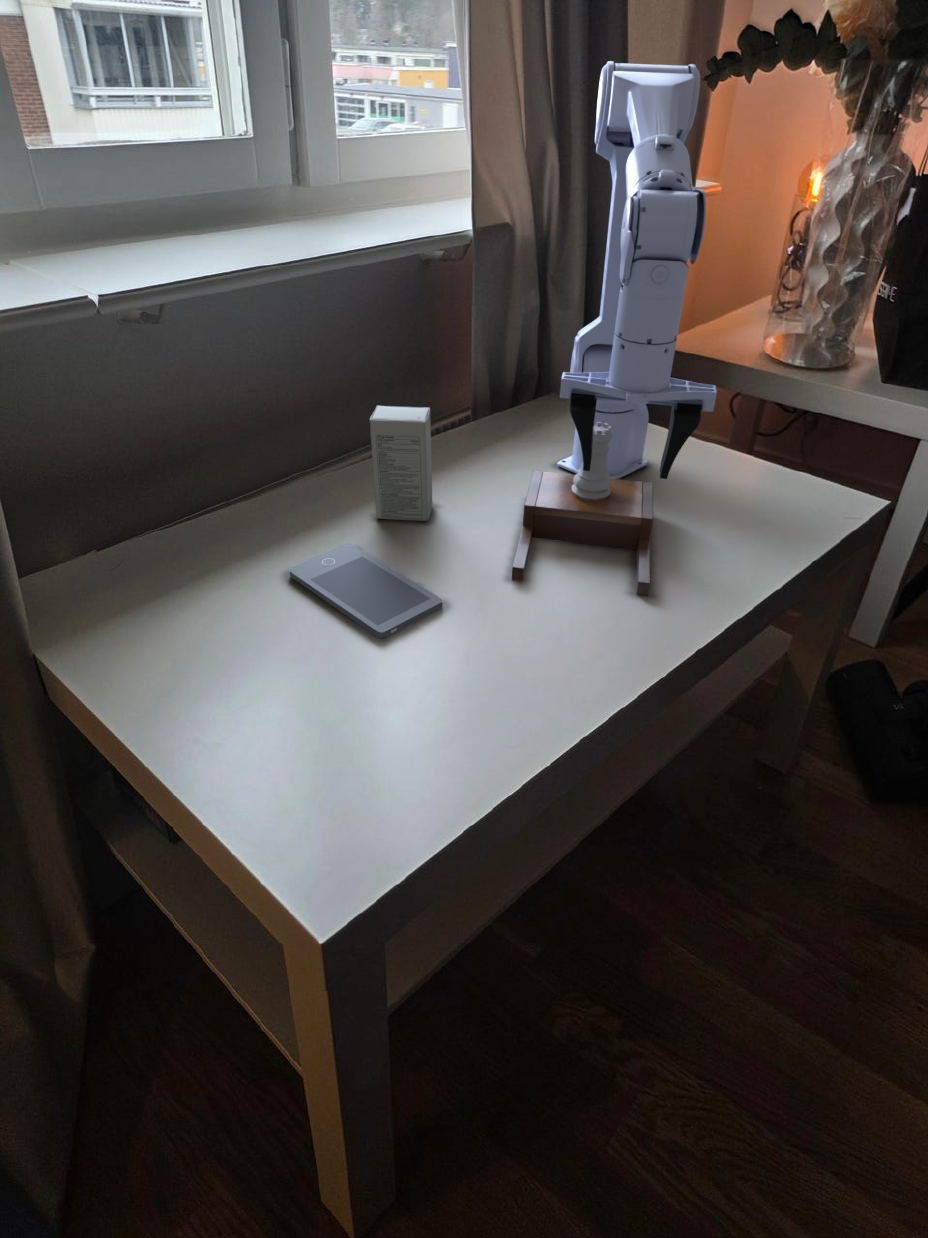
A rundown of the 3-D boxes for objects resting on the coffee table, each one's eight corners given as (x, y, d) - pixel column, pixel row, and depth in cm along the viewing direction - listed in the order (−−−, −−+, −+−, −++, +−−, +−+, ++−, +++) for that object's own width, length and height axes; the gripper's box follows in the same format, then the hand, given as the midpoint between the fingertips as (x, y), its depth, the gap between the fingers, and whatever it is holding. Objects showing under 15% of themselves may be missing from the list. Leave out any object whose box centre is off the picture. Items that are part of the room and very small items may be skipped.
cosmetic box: (433, 505, 100) (433, 406, 93) (428, 522, 96) (428, 421, 89) (379, 501, 100) (376, 402, 93) (372, 518, 97) (369, 417, 89)
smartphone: (446, 606, 82) (446, 600, 82) (381, 640, 78) (381, 633, 77) (351, 547, 91) (350, 542, 90) (287, 575, 86) (287, 569, 86)
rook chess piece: (585, 505, 92) (594, 437, 87) (563, 488, 95) (570, 421, 91) (618, 497, 94) (628, 430, 89) (595, 481, 97) (604, 415, 92)
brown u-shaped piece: (647, 595, 85) (654, 561, 83) (511, 579, 87) (513, 546, 85) (647, 512, 100) (652, 482, 97) (530, 500, 101) (533, 470, 99)
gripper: (563, 341, 75) (549, 480, 83) (729, 355, 73) (699, 495, 81) (569, 319, 80) (556, 451, 88) (724, 331, 78) (696, 465, 86)
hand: (624, 470), depth 85 cm, fingers open, 7 cm apart
